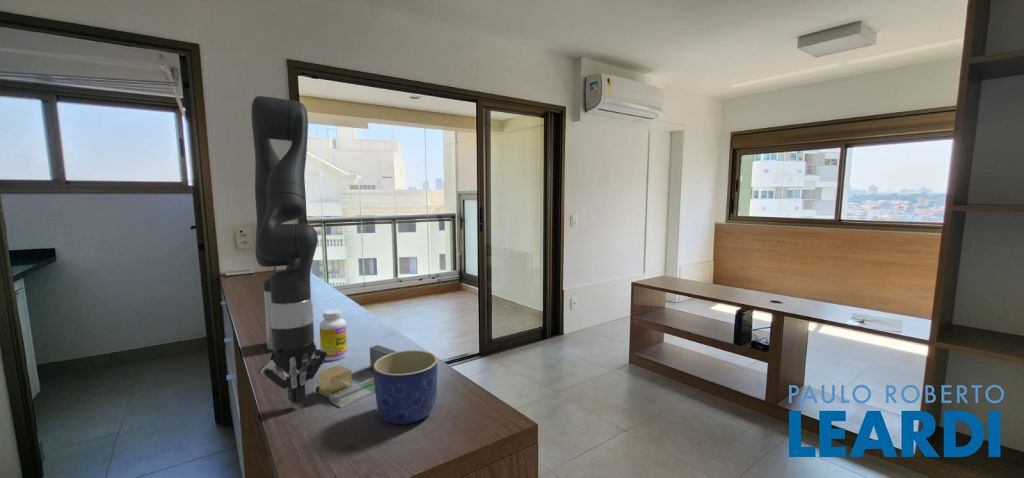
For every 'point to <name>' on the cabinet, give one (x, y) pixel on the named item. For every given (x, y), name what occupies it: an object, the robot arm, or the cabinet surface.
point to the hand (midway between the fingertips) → (296, 402)
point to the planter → (405, 385)
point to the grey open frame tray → (363, 387)
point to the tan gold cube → (334, 380)
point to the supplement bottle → (333, 335)
